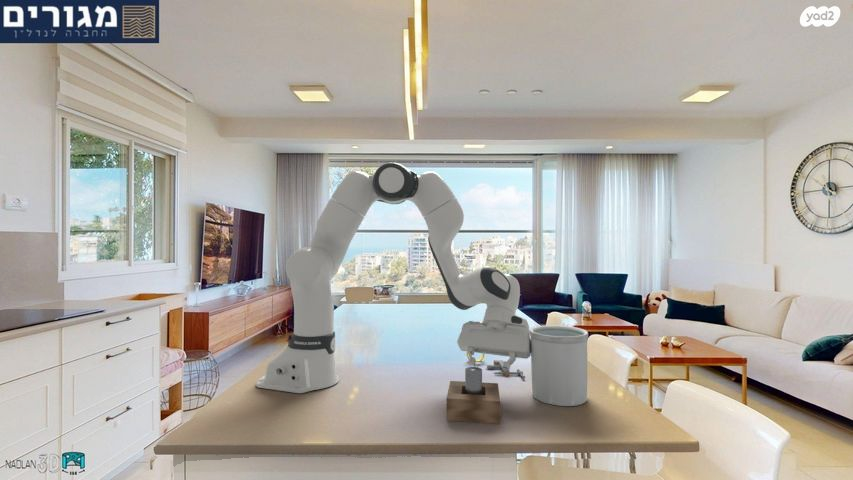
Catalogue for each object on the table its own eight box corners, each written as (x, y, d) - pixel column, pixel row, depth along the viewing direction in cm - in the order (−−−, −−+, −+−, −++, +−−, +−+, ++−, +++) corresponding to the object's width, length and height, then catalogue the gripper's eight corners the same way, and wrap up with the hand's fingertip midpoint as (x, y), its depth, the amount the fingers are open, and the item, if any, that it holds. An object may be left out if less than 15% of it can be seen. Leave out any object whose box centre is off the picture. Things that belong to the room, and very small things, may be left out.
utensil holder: (526, 403, 103) (526, 333, 104) (532, 384, 117) (532, 323, 117) (589, 411, 98) (589, 338, 98) (587, 391, 112) (587, 327, 112)
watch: (482, 361, 142) (484, 343, 142) (484, 363, 139) (485, 345, 139) (465, 359, 142) (467, 342, 142) (466, 362, 139) (468, 344, 139)
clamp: (484, 359, 136) (514, 360, 136) (484, 366, 136) (514, 366, 136) (492, 374, 121) (526, 374, 121) (492, 381, 121) (526, 381, 121)
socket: (446, 420, 93) (446, 398, 93) (450, 400, 104) (450, 380, 104) (500, 423, 91) (500, 401, 91) (497, 403, 103) (497, 383, 103)
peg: (464, 414, 96) (465, 371, 96) (465, 407, 100) (465, 366, 100) (481, 415, 95) (482, 372, 96) (481, 408, 99) (482, 367, 100)
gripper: (461, 314, 120) (448, 355, 111) (532, 320, 111) (524, 365, 102) (466, 326, 124) (454, 368, 115) (535, 333, 115) (528, 378, 106)
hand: (488, 367), depth 108 cm, fingers open, 8 cm apart
